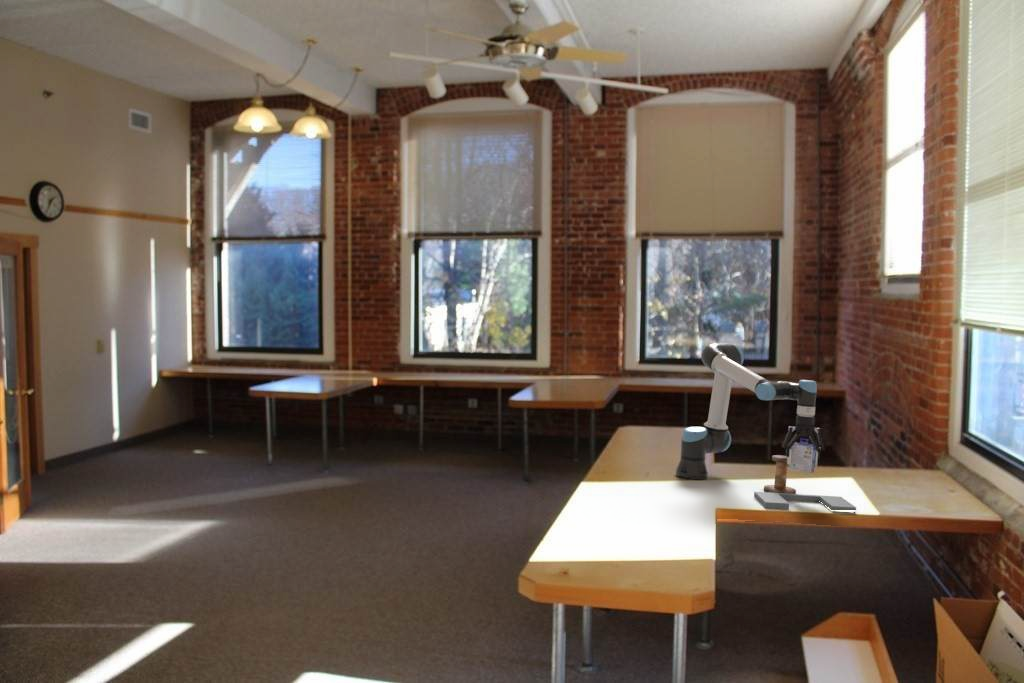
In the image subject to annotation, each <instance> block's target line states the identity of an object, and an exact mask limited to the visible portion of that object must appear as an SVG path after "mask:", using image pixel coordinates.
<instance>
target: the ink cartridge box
mask: <svg viewBox="0 0 1024 683" xmlns="http://www.w3.org/2000/svg"><path fill="white" fill-rule="evenodd" d="M809 439H810V438H804V437H800V440H799V442H795V443H794V444H793V446H792V447H791V448H790V450H792V453H791V465H788V467H789V468H788V470H789V471H790V472H798V473H804V474H810V475H811V474H813V473H815V466H814V465H815V451H816V446H815V445H813V444H810V443H809V441H810V440H809Z"/></svg>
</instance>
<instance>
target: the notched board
mask: <svg viewBox="0 0 1024 683" xmlns="http://www.w3.org/2000/svg"><path fill="white" fill-rule="evenodd" d="M753 495H754V496H753V497H755V498H756V499H757V500H758V501H759V502H760V503H761V504H762V505H763V506H764V507H767V508H766V509H773V508H780V509H779V510H789V509H790V503H789V502H788V501H796V502H808V501H820V502H822V503H823V504H824V505H826V506H827V507H829V508H830V509H831V510H856V511H857V507H856V506H855V505H853V504H852V503H850V502H849V501H848V500H847V499H845V498H843V496H838V495H837V496H835V495H834V496H833V495H832V496H831V495H818V494H817V495H816V494H801V493H796V494H786V493H769V492H765V491H754V492H753ZM755 498H754V499H755ZM756 499H755V500H756ZM757 500H756V501H757ZM758 501H757V502H758ZM759 502H758V503H759ZM820 502H819V503H820ZM760 503H759V504H760ZM761 504H760V505H761ZM762 505H761V506H762ZM763 506H762V507H763Z"/></svg>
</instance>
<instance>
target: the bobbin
mask: <svg viewBox="0 0 1024 683" xmlns="http://www.w3.org/2000/svg"><path fill="white" fill-rule="evenodd" d="M787 459H788V457H786V455H781V454H779V455H778V454H776V455H772V456H771V460H772V461H773V462H775V472H774V473H775V474H774V484H767V485H766V484H765V485H763V492H769V493H786V494H797V490H796V489H795V488H793V487H790V486H787V477H788V475H787V474H788V467H789V465H788V464H787Z"/></svg>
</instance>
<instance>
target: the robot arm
mask: <svg viewBox="0 0 1024 683" xmlns="http://www.w3.org/2000/svg"><path fill="white" fill-rule="evenodd" d="M744 359H745V354H744V351H743V350H742V348H741V347H740V346H739V345H738V344H735V343H729V342H728V343H726V342H725V343H709V344H708V345H706V346H705V347H704V348H703V349H702V351H701V361H702V363H703V365H704V366H705V367H706V368H708V369H709V370H711V371H712V372H713V373H714V378H713V384H712V390H711V395H710V396H711V398H710V403H709V411H708V417H707V421H706V422H704V423H703V426H689V427H686V428H684V429H683V430H682V433H681V443H680V444H681V445H680V448H681V449H680V460H679V461H678V465H677V466H676V469H675V475H676V474H677V475H679V476H682V477H686V478H693V479H692V480H696V479H701V480H706V479H708V476H709V472H708V468H707V465H706V454H707V455H708V454H720V453H724V452H725V451H727V450H728V449H729V448H730V445H731V444H732V435H731V432H730V431H729V426H728V425H727V424H726V422H727V416H728V410H729V404H730V399H731V398H730V397H731V390H732V385H733V381H734V382H737V383H738V384H739V385H741V386H743V387H745V388H747V389H749V390H750V391H752V392H753V393H755V395H756V397H757V399H759V400H761V401H775V400H792V401H797V407H796V414H797V415H796V417H795V418H796V420H795V425H794V426H790V425H789V426H788V427H787V432H786V435H785V437H784V438H783V442H782V444H781V447H782V448H783V449H785V456H786V457H788V459H787V464H788V466H789V465H791V453H792V450H791V447H792V446H793V444H794V443H797V440H799V438H804V437H806V438H808V439H810V441H811V443H812V445H815V446H816V451H815V465H814V467H818V460H819V459H820V458H821V452H822V451H825V450H826V449H825V448H826V447H825V444H824V439H823V437H822V428H820V427H815V416H816V402H817V401H816V399H817V394H818V390H817V387H818V386H817V382H816V381H815V380H811V379H809V380H808V379H800V380H799V381H798V383H796V382H790V381H787V380H785V381H783V380H780V381H777V382H771V381H770V380H768V379H766V378H764V377H763V376H761V375H759V374H757V373H756V372H754V371H752V370H751V369H748V368H747V367H745V366H743V364H744ZM794 431H795V433H794V435H793V437H792V434H793V432H794ZM814 432H815V433H816V436H817V437H816V438H817V441H818V442H817V441H816V439H815V437H814V435H813V433H814ZM791 437H792V438H791ZM818 444H819V445H818ZM677 475H676V476H677ZM679 476H678V477H679ZM682 477H681V478H682ZM686 478H685V479H686Z"/></svg>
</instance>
